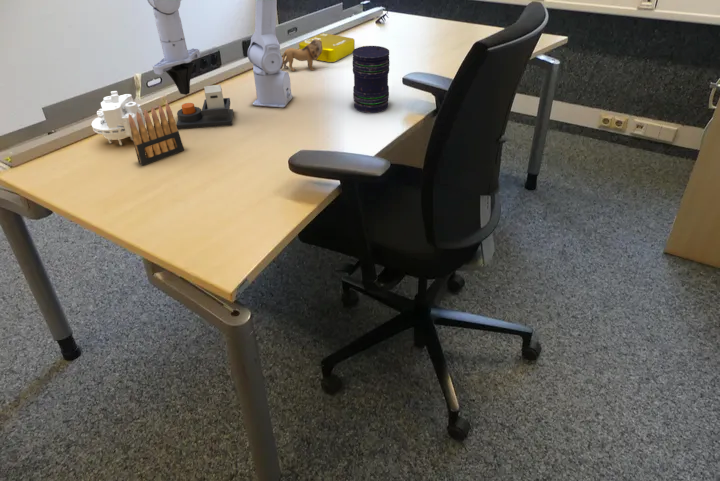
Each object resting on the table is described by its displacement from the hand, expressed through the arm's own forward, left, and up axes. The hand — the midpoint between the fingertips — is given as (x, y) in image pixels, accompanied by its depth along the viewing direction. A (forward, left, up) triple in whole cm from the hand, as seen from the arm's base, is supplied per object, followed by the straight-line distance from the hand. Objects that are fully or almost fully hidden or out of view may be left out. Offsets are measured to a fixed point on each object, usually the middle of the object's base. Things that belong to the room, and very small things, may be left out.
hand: (184, 93), depth 132 cm
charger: (-7, -2, -5) cm, 9 cm away
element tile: (-21, -61, -8) cm, 65 cm away
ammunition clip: (-2, +19, -8) cm, 21 cm away
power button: (0, 0, -5) cm, 5 cm away
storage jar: (-45, -19, -8) cm, 49 cm away
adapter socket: (-7, -3, -5) cm, 9 cm away
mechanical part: (+12, +13, -8) cm, 19 cm away
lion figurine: (-17, -45, -8) cm, 49 cm away
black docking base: (-4, -1, -8) cm, 9 cm away
